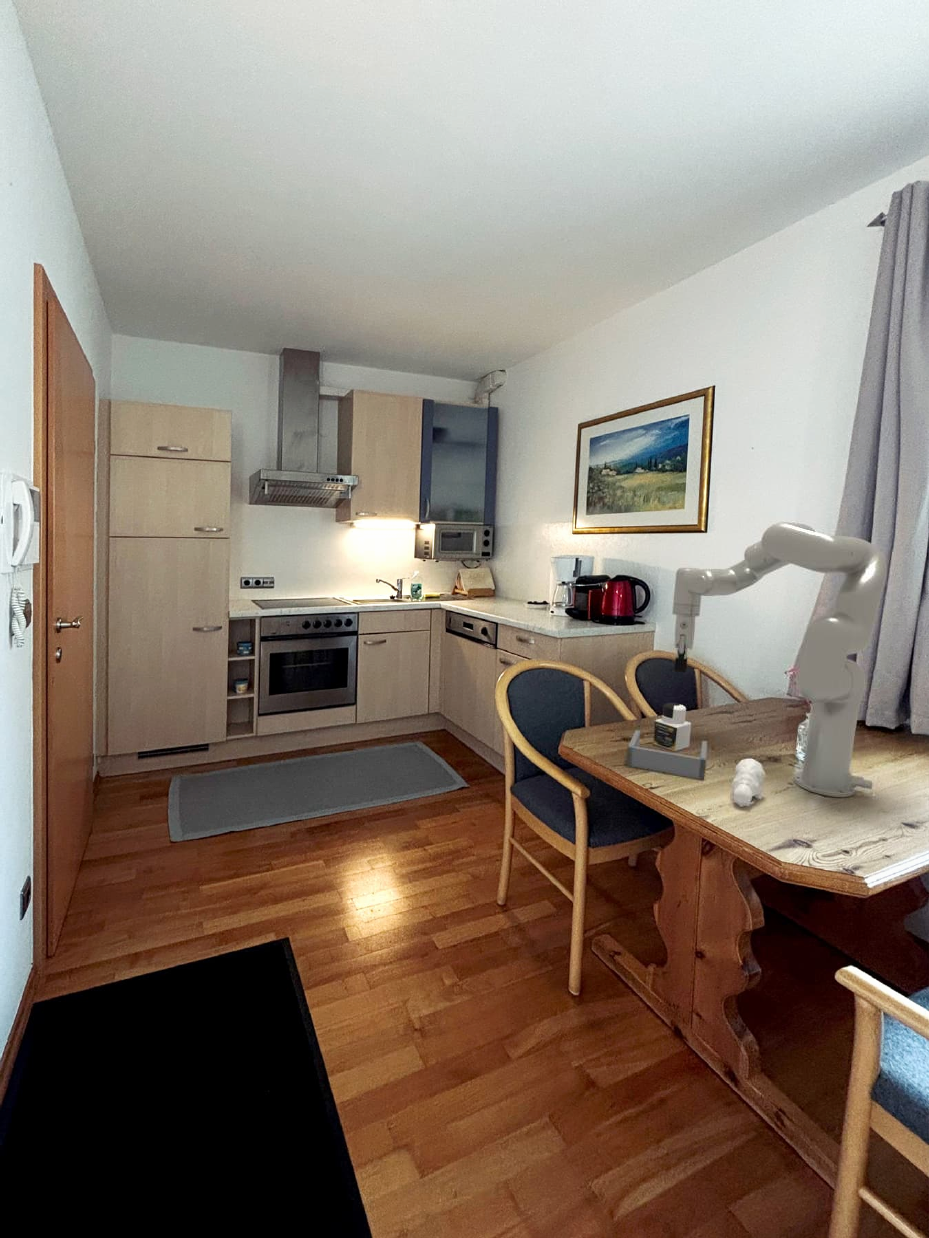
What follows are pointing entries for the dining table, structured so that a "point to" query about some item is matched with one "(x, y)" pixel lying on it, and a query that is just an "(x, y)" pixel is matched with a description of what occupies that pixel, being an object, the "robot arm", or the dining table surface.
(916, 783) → the dining table surface
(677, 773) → the box
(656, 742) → the medicine bottle
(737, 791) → the white animal figurine
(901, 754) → the dining table surface
